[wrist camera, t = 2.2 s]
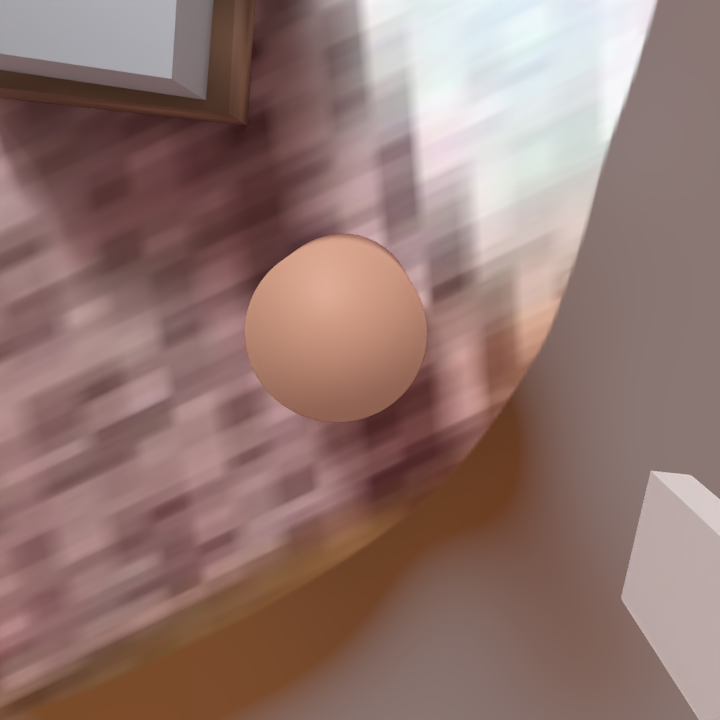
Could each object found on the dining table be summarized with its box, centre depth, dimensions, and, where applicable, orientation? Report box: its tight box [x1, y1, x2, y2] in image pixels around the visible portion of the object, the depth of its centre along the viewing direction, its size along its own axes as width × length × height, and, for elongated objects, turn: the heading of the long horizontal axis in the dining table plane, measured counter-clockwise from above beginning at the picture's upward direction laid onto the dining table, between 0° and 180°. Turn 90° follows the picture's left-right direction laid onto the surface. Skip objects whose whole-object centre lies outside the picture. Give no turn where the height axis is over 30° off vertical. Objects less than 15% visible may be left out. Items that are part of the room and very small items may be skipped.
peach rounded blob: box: [245, 234, 427, 422], centre depth 30 cm, size 8×8×8 cm
